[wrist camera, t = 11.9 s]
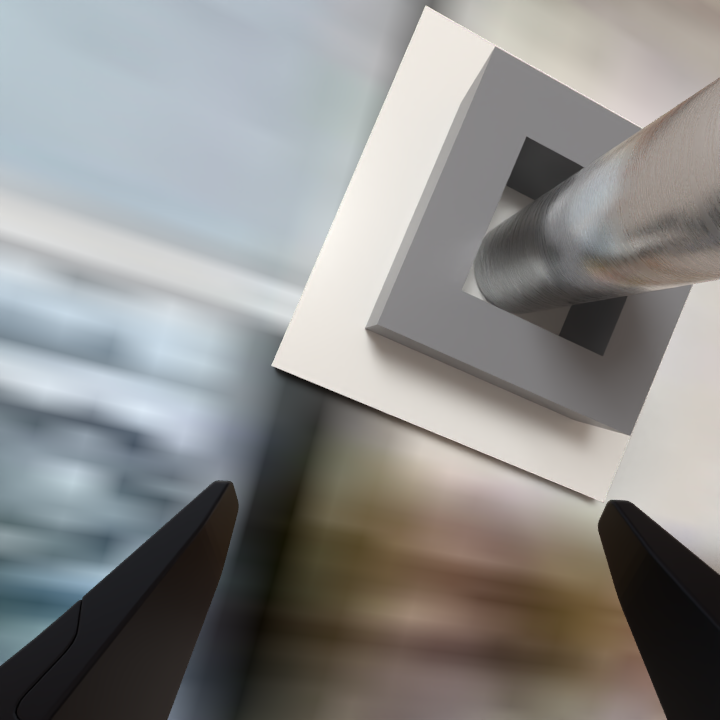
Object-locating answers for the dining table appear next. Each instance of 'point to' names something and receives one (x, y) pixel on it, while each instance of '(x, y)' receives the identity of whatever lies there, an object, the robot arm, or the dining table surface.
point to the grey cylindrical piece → (617, 220)
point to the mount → (457, 275)
